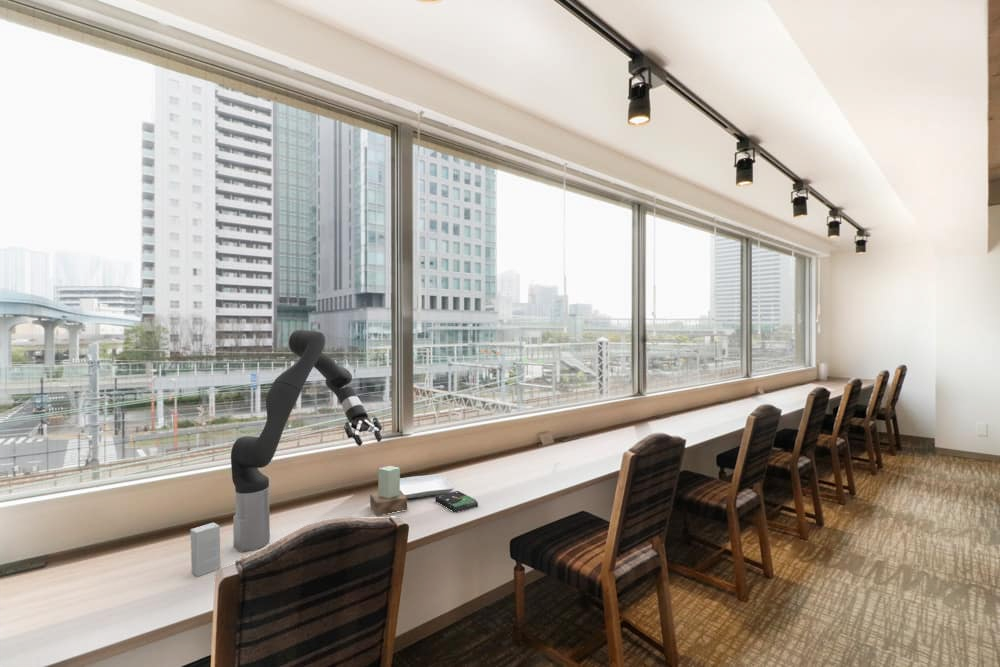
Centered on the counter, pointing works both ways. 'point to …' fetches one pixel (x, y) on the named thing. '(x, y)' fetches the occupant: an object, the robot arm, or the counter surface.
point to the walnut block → (387, 504)
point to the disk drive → (456, 501)
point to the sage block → (389, 482)
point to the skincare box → (205, 549)
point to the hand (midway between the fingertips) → (370, 442)
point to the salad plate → (424, 486)
